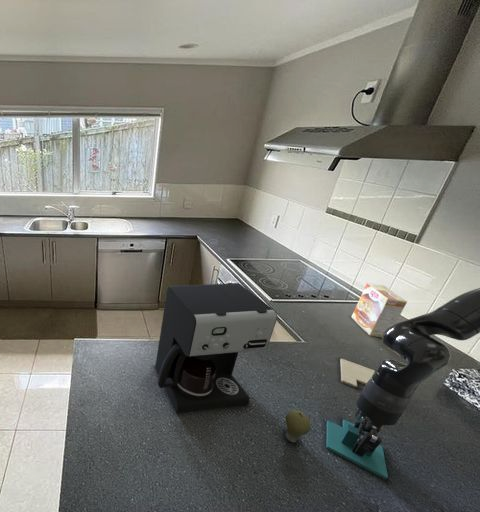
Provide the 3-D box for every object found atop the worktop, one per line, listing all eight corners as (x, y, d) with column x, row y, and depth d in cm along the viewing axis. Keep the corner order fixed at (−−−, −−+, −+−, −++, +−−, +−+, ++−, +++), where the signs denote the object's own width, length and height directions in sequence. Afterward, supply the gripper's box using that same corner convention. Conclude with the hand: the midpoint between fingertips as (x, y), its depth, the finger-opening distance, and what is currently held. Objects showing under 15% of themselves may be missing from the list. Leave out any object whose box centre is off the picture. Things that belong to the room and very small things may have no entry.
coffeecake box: (349, 317, 137) (366, 282, 130) (367, 320, 135) (384, 285, 128) (368, 336, 124) (387, 298, 116) (387, 339, 122) (408, 301, 114)
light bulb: (274, 434, 80) (284, 409, 76) (286, 427, 82) (297, 403, 78) (293, 453, 75) (305, 427, 71) (306, 445, 77) (318, 420, 73)
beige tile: (389, 379, 101) (390, 376, 100) (395, 405, 90) (397, 402, 90) (339, 361, 108) (341, 358, 108) (340, 383, 98) (342, 380, 98)
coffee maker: (164, 418, 83) (182, 320, 70) (143, 369, 101) (155, 283, 87) (248, 408, 87) (281, 314, 74) (215, 362, 105) (236, 280, 92)
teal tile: (378, 439, 79) (388, 424, 77) (385, 481, 69) (397, 464, 67) (326, 415, 86) (333, 400, 84) (325, 449, 76) (334, 433, 74)
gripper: (410, 429, 62) (378, 477, 68) (398, 389, 72) (371, 433, 79) (365, 410, 66) (339, 456, 72) (360, 374, 77) (337, 417, 83)
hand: (356, 444), depth 76 cm, fingers open, 5 cm apart
